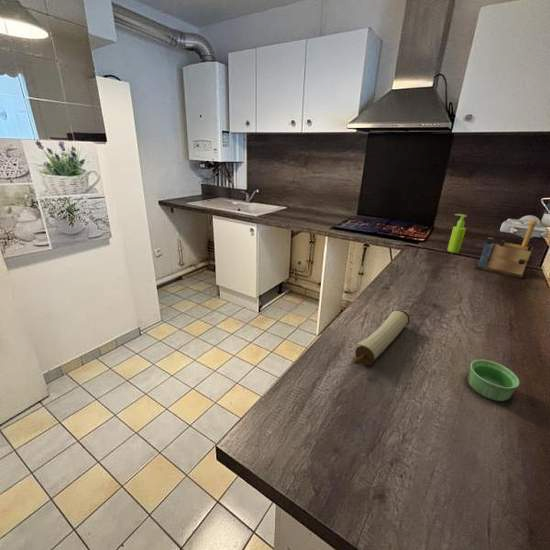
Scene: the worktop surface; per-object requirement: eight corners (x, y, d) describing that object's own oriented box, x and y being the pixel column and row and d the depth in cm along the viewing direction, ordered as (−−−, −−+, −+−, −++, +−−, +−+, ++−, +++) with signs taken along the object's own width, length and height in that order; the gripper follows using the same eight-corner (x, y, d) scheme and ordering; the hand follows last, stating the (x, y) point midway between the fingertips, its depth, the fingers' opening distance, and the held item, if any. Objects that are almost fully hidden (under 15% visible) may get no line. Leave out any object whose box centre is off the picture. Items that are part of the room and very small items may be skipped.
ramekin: (468, 368, 72) (473, 354, 70) (513, 386, 67) (520, 371, 65) (462, 389, 65) (467, 374, 64) (511, 410, 60) (519, 395, 58)
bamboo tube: (364, 376, 68) (368, 359, 66) (343, 365, 72) (346, 348, 70) (413, 323, 90) (417, 309, 88) (395, 317, 93) (399, 303, 91)
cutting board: (522, 274, 130) (534, 244, 125) (521, 278, 126) (534, 247, 120) (477, 265, 140) (487, 236, 134) (476, 268, 136) (486, 238, 130)
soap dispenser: (447, 248, 164) (457, 212, 156) (460, 251, 159) (471, 215, 151) (443, 250, 161) (453, 214, 153) (456, 253, 156) (467, 216, 148)
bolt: (531, 249, 124) (543, 221, 120) (532, 250, 123) (543, 222, 118) (503, 244, 130) (513, 217, 125) (503, 245, 128) (512, 218, 123)
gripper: (555, 239, 129) (557, 246, 119) (499, 230, 141) (497, 236, 131) (561, 225, 127) (564, 231, 117) (504, 217, 138) (502, 222, 128)
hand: (528, 233), depth 124 cm, fingers open, 8 cm apart
